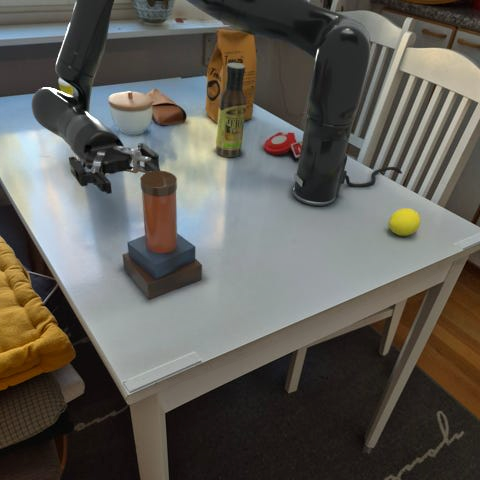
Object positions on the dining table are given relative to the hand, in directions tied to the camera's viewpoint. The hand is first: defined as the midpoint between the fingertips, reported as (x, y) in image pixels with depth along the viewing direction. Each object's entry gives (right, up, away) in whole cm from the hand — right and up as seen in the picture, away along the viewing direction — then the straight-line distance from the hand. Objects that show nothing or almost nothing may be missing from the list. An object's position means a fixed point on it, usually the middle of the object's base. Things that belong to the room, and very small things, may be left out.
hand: (134, 182), depth 76 cm
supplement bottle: (-29, +36, +53) cm, 70 cm away
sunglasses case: (-6, +36, +55) cm, 66 cm away
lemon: (+50, -5, +20) cm, 54 cm away
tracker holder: (+28, +20, +43) cm, 55 cm away
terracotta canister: (+4, -10, 0) cm, 11 cm away
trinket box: (-11, +27, +46) cm, 54 cm away
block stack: (+4, -14, +4) cm, 16 cm away
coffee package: (+14, +35, +57) cm, 68 cm away
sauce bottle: (+14, +19, +40) cm, 47 cm away
